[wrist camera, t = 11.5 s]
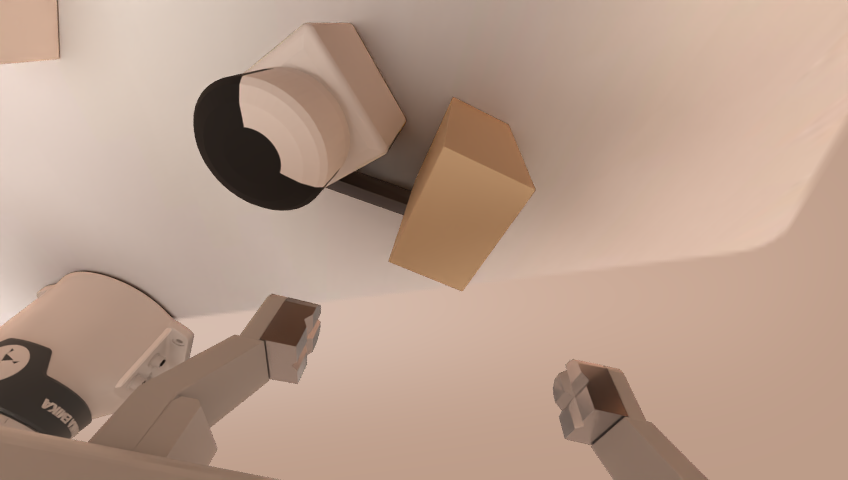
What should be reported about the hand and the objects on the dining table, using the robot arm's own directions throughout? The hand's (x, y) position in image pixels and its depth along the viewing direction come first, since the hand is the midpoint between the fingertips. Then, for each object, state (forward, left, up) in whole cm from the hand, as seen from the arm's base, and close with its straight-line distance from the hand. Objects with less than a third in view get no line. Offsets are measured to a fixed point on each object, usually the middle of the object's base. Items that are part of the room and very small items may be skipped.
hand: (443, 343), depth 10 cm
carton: (0, 0, -18) cm, 18 cm away
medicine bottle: (+1, +9, -18) cm, 20 cm away
